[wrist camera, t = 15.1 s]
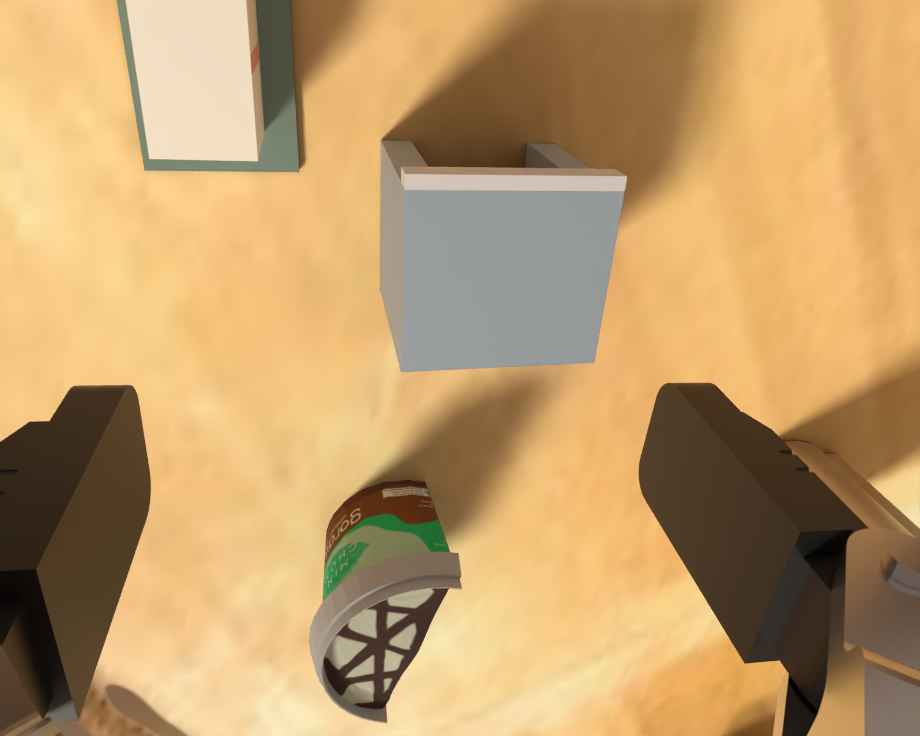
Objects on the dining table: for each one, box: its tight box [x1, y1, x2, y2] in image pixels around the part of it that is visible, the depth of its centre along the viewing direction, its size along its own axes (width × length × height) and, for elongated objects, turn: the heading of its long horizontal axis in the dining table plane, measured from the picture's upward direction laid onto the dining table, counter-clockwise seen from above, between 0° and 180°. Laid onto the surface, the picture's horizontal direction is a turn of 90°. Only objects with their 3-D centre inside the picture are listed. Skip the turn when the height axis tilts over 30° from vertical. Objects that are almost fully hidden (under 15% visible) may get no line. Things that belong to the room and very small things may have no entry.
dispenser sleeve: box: [380, 140, 627, 372], centre depth 33 cm, size 9×9×9 cm
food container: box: [309, 480, 462, 723], centre depth 42 cm, size 12×6×10 cm, turn 156°
